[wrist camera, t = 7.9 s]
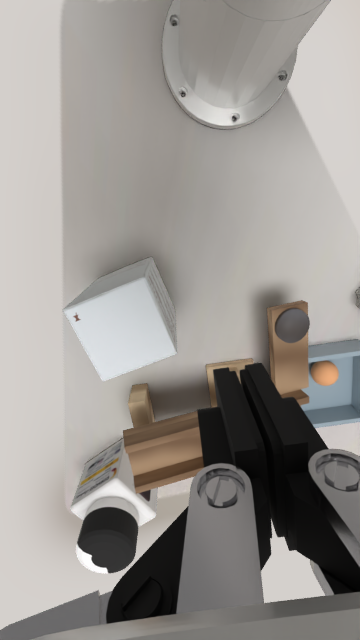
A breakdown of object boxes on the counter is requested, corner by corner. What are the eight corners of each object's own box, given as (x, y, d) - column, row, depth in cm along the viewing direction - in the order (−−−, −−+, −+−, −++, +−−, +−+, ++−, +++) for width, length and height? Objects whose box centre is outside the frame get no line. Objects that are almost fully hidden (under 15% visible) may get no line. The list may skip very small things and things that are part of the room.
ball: (337, 355, 38) (345, 372, 40) (311, 354, 40) (319, 369, 42) (329, 376, 36) (338, 392, 38) (303, 373, 39) (312, 388, 40)
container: (125, 435, 44) (106, 521, 32) (159, 469, 46) (154, 562, 34) (85, 462, 45) (52, 555, 33) (120, 494, 47) (101, 592, 35)
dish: (276, 349, 40) (286, 361, 37) (355, 337, 40) (372, 349, 37) (280, 415, 44) (289, 431, 40) (353, 405, 43) (368, 420, 40)
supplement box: (122, 332, 39) (99, 385, 27) (96, 277, 37) (58, 308, 25) (177, 311, 38) (179, 356, 26) (154, 254, 36) (144, 274, 24)
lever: (101, 343, 29) (100, 354, 27) (301, 300, 33) (317, 306, 30) (135, 480, 35) (137, 499, 32) (304, 431, 38) (317, 445, 36)
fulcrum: (205, 364, 40) (211, 390, 35) (251, 358, 40) (265, 383, 34) (213, 422, 43) (219, 454, 38) (256, 416, 43) (269, 448, 37)
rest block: (132, 385, 41) (128, 403, 37) (147, 383, 41) (144, 400, 37) (140, 422, 43) (137, 443, 39) (155, 420, 43) (153, 441, 39)
